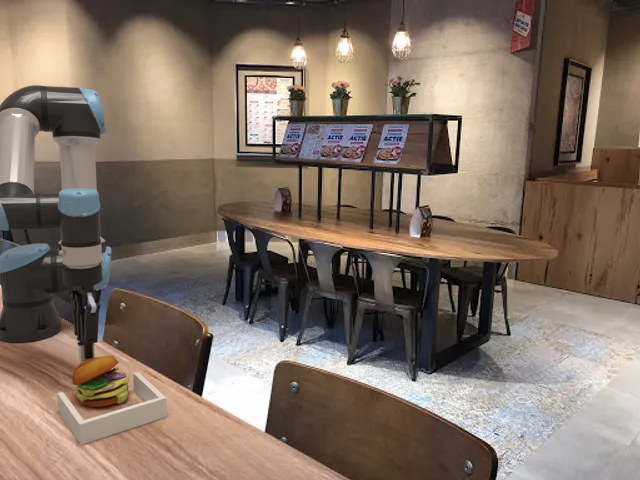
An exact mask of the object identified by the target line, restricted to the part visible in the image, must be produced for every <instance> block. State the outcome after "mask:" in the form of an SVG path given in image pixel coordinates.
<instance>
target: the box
mask: <svg viewBox="0 0 640 480" xmlns="http://www.w3.org/2000/svg"><path fill="white" fill-rule="evenodd" d="M132 376H133V377H132V379H133V381H132V382H133V391H134V392H135V393H136V394H137V395H138V396H139V397H140V398H141V399H142V400H143V402H140V403H136V404H134V405H129V406H126V407H124V408H121V409H117V410H114V411H110V412H107V413H104V414H100V415H97V416H94V417H90V418H87V419H85V420H84V418H83V417H82V416H81V414H80V413H79V412H78V410H77V409H76V408H75V407H74V405H73V404H72V402H71V401H70V400H69V398H68V396H66V394H65V393H64V392H63V391H60V392H57V409H58V413H59V415H60V416H61V418H62V420H63V421H64V423H65V424H66V425H67V427H68V428H69V430H70V431H71V433H72V434H73V435H74V437H75V439H76V440H77V442H78V444H79V445H80V446H82V445H85V444H86V445H87V444H88V443H91V442H95V441H97V440H101V439H103V438H107V437H109V436H113V435H115V434H119V433H121V432H122V433H123V432H125V431H127V430H128V431H129V430H130V429H134V428H136V427H139V426H143V425H146V424H149V423H151V422H155V421H159V420H160V419H164V418H167V397H166V396H165V395H164V394H162V393H161V392H160V390H158V389H157V388H156V387H155V386H154V385H153V384H152V383H151V382H149V381H148V380H147V378H145V376H143V375H142V374H141V373H140V372H139V371H135V372H133V374H132Z"/></svg>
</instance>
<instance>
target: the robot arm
mask: <svg viewBox="0 0 640 480" xmlns="http://www.w3.org/2000/svg"><path fill="white" fill-rule="evenodd" d="M105 121H106V120H105V115H104V108H103V105H102V100H101V97H100V94H99V93H98V92H97V91H96V90H95V89H90V88H85V87H83V88H82V87H70V86H67V87H66V86H49V85H39V84H38V85H37V84H33V85H26V86H24V87H21V88H19V89H17V90H14V91H13V92H12V93H11V94H8V96H7V97H5V98H4V100H3V101H2V102H1V103H0V231H5V232H6V231H14V230H15V231H20V230H21V231H22V230H34V229H35V230H36V229H37V230H41V229H44V230H48V229H60V231H59V232H60V239H59V241H58V248H57V249H53V248H52V249H51V247H50V245H49V244H48V243H31V244H30V243H29V244H24V245H20V246H15V247H11V248H9V249H7V250H5V251H3V252H2V253H1V254H0V286H1V299H2V310H1V313H0V340H1V341H2V342H7V343H30V342H36V341H40V340H44V339H48V338H51V337H53V336H55V335H57V334H58V333H60V332H61V330H62V328H63V327H62V319H61V317H60V315H59V312H58V311H57V308H56V306H55V303H54V299H53V294H57V293H68V295H69V298H70V299H69V300H70V305H71V314H72V323H73V329H74V330H73V331H74V335H75V336H77V337H76V340H77V341H78V342H76V344H77V346H78V359H79V360H78V361H79V364H80V363H81V362H83V361H85V360H88V359H91V358H96V357H95V344H97V343H98V341H99V340H98V339H99V317H100V309H101V303H100V302H96V301H97V299H98V297H97V292H96V291H95V290H101V289H105V288H106V287H107V285H108V283H109V281H110V276H111V275H110V274H111V265H112V248H111V247H110V246H109V245H107V246H106V240H105V239H104V238H103V237H102V236H101V211H100V210H101V202H100V195H99V191H98V188H97V168H96V167H97V165H96V148H95V147H96V145H97V144H98V143H100V141H101V135H105V134H106V133H107V129H106V123H105ZM40 132H43V133H52V140H53V141H54V142H55V144H57V145H58V146H59V162H60V178H61V179H60V180H61V181H60V182H61V190H60V191H59V192H58V193H54V192H53V193H35V157H36V156H35V154H36V152H35V151H36V148H35V147H36V137H37V136H38V135H39V133H40Z"/></svg>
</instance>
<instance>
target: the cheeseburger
mask: <svg viewBox="0 0 640 480" xmlns="http://www.w3.org/2000/svg"><path fill="white" fill-rule="evenodd" d="M118 365H119V361H118V360H117V359H116V357H114V356H113V355H101V356H97V357H95V358H91V359H88V360H85V361H83V362H81V363H79V364H78V365H77V366H76V367H75V368H74V370H73V371H72V375H71V381H72V383H71V384H72V385H75V386H76V389H77V393H76V397H77V399H78V400H79V402H81V403H82V404H83V405H84V406H86V407H90V408H96V407H97V408H98V407H104V406H110V405H114V404H117V405H118V404H123V403H124V402H126V401H127V398H128V397H129V382H130V377H129V375H127V373H125V372H120V371H118V370H119V368H120V367H119V366H118ZM116 366H118V367H117V368H116Z"/></svg>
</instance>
